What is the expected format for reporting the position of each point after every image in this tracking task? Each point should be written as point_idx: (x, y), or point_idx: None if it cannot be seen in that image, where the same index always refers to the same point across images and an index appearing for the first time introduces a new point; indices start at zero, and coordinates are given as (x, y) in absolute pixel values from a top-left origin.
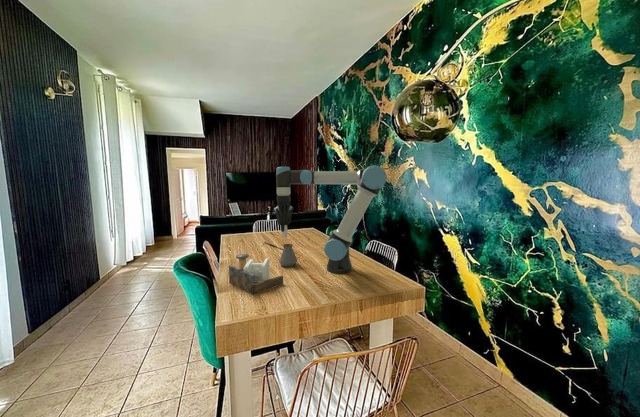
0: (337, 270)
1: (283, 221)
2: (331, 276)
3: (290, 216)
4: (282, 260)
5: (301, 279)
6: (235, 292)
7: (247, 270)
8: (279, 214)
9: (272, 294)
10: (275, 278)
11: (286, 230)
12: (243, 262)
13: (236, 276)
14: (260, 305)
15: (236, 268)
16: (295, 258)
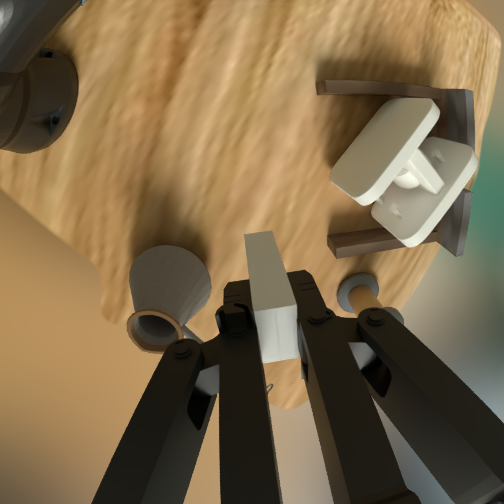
0: (62, 56)
1: (340, 358)
2: (106, 40)
3: (150, 450)
4: (204, 279)
5: (226, 72)
6: None
7: (467, 145)
8: (485, 441)
9: (389, 41)
10: (364, 81)
11: (258, 269)
12: (376, 304)
13: None
14: (437, 21)
15: (469, 205)
16: (141, 262)
